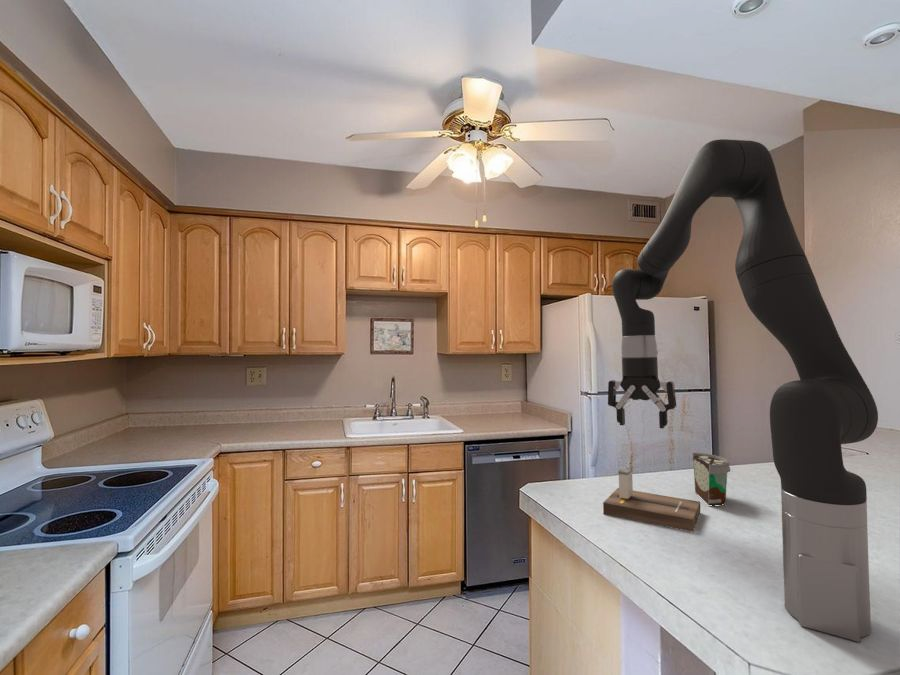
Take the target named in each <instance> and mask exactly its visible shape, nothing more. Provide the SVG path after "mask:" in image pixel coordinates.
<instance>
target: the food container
mask: <svg viewBox="0 0 900 675" xmlns="http://www.w3.org/2000/svg"><path fill="white" fill-rule="evenodd" d="M692 461H693V478H694V479H693V480H694V493H695V494H696V496H698V495H699V496H700V497H701V498H702V499H703V500H704V501H705V502H706V503H707V504H708V505H712V506H714V507H716V506H715V505H722V504H724V503H725V502H727V500H726V499H727V484H728V480H727V479H728V473H730V472H731V466H730V463H729V462H728V459H727V458H724V457H722V456H719V455H715V454H710V453H709V454H708V453H704V452H702V453H701V452H692ZM699 496H698V497H699ZM700 497H699V498H700ZM701 498H700V499H701ZM702 499H701V500H702ZM703 500H702V501H703ZM704 501H703V502H704ZM705 502H704V503H705ZM706 503H705V504H706ZM707 504H706V505H707ZM725 504H726V503H725ZM725 504H724V505H725ZM708 505H707V506H708ZM712 506H711V507H712ZM722 506H723V505H722Z"/></svg>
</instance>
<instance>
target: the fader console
mask: <svg viewBox="0 0 900 675" xmlns="http://www.w3.org/2000/svg"><path fill="white" fill-rule="evenodd" d="M602 504H603V506H602V507H603V515H608V516H613V517H617V518H623V519H628V520H633V521H638V522H642V523H647V524H648V523H649V524H652V525H657V526H661V525H662V526H663V527H666V526H667V528H671V527H672V529H676V528H677V529H678V530H681V529H682V530H683V531H686V530H687V531H686V532H691V531H693V532H694V531H695V529H694V528H696V526H697V523H698V521H697V520H699V518H700V516H699V515H701V513H700V512H701V501H698V500H697V501H696V500H691V499H686V498H680V497H674V496H668V495H661V494H657V493H650V492H644V491H639V490H633V494H632V495H631V496H630V498H629V499H626V498H621V497H619V487H617V488H616V489H615V490H614V491H613V492H612V493H611V494H610V495H609V496H608V497H607V498H606V499H605V500H604V501H603V503H602ZM698 517H699V518H698ZM695 525H696V526H695ZM677 529H676V530H677Z"/></svg>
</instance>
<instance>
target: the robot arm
mask: <svg viewBox="0 0 900 675" xmlns="http://www.w3.org/2000/svg"><path fill="white" fill-rule="evenodd" d="M710 198H730V199H733V200H734V203H735V205H736V206H737V208H738V211H739V214H740V217H741V220H742V225H743V232H742V236H741V240H740V243H739V245H738V246H739V247H738V250H737V253H736V258H735V263H734V266H735V269H734V271H735V274H736V278H737V280H738V284H739V286H740V289H741V292H742V294H743V298H744V300H745V303H746V304H747V307H748V309H749V311H751V312H752V314H753V315H754V317H755V318H756V319H757V320H758V321H759V322H760V324H762V326H764V328H766V330H767V331H769V333H770V334H772V336H774V338H776V339H777V341H778V342H779V343H780V344H781V345H782V346H783V347H784V349H785V350H786V351H787V353H788V354H789V356H790V358H791V360H792V363H793V364H794V368H795V369H796V372H797V374H798V378H799V380H798V379H797V380H793V381H788V382H786V383H783V384H781V385H780V386H779V387H778V388H777V389H776V391H775V392H774V394H773V395H772V397H771V401H770V406H769V425H770V426H769V427H770V437H771V447H772V448H771V449H772V457H773V458H772V459H773V463H774V467H775V469H776V472H777V474H778V475H779V477H780V490H781V491H780V492H781V493H780V495H781V496H780V497H781V527H782V528H781V531H782V534H781V535H782V537H781V538H782V560H783V561H782V566H783V567H782V570H783V592H784V607H785V610H786V611H787V612H788V613H789V614H790V616H791V617H793V618H794V619H796V620H797V621H798V625H800V626H802V627H804V628H808V629H811V630H815V631H819V632H822V633H826V634H829V635H832V636H837V637H840V638H844V639H847V640H851V641H854V642H859V643H860V642H862V638H863V637H865V636H868V635H869V634H871V632H872V620H871V598H870V597H871V596H870V595H871V594H870V567H869V566H870V565H869V563H870V562H869V541H868V540H869V538H868V537H869V535H868V504H867V503H868V502H867V501H868V500H867V499H868V498H867V485H866V482H865V479H863V478H862V477H861V476H859V475H858V474H856V473H854V472H851V471H848V470H847V469H846V468H845V465H844V461H843V460H844V459H843V452H842V450H843V449H842V445H846V444H848V445H849V444H854V443H859V442H863V441H864V440H867V439H869V438H870V437H871V436H872V435H873V433H875V431H876V428H877V427H878V423H879V422H878V421H879V413H878V407H877V404H876V401H875V399H874V397H873V396H874V395H872V393H871V392H872V391H870V389H869V386H868V384H867V383H866V382H865V380H864V378H863V376H862V375H861V373H860V371H859V369H858V368H857V366H856V364H855V362H854V360H853V359H852V357H851V356H850V354H849V352H848V351H847V348H846V347H845V345H844V342H843V340H842V339H841V337H840V334H839V332H838V330H837V327H836V325H835V322H834V320H833V318H832V316H831V313H830V311H829V309H828V306H827V304H826V302H825V300H824V298H823V295H822V294H821V290H820V288H819V284H818V282H817V279H816V277H815V273H814V272H813V269H812V268H811V265H810V263H809V260H808V257H807V254H806V253H805V251H804V249H803V247H802V244H801V243H800V241H799V237H798V235H797V232H796V230H795V227H794V225H793V222H792V219H791V217H790V215H789V212H788V209H787V206H786V203H785V200H784V197H783V193H782V189H781V185H780V181H779V178H778V174H777V170H776V167H775V163H774V160H773V157H772V155H771V153H770V151H769V149H768V148H767V147H766V145H764V144H762V143H761V142H758V141H754V140H745V139H728V138H727V139H715V140H710V141H709V142H707V143H705V144H704V145H703V146H702V147H700V149H699V150H698V151H697V153H696V155H695V156H693V158H692V160H691V161H690V163H689V165H688V167H687V169H686V171H685V173H684V175H683V178H682V179H681V181H680V184H679V185H678V187H677V190H676V191H675V193H674V195H673V198H672V200H671V201H670V202H671V203H670V205H669V206H668V208H667V211H666V213H665V215H664V217H663V219H662V221H661V222H660V224H659V226H658V227H657V229H656V230H655V232H654V233H653V234H652V236H651V237H650V238H649V240H648V241H647V242H646V244H645V246H644V247H643V249H641V251H640V253H639V254H638V257H637V260H636V261H637V266H638V267H639V269H638V268H624V269H623V268H622V269H621V270H617V272H616V273H615V275H614V277H613V279H612V284H611V288H612V294H613V297H614V300H615V303H616V305H617V309H618V312H619V316H620V319H621V334H622V335H621V368H622V369H621V371H622V372H621V374H622V379H621V381H619V380H615V379H612V380H609V381H608V385H607V387H608V388H607V389H608V390H607V405H608V406H609V407H613V408H614V409H616V410H615V411H616V422H617V423H618V424H619V426H625V425H626V413H625V412H626V411H625V408H624V407H625V405H626V404H627V403H628V402H629V401H630V400H632V401H638V400H642V401H649V400H651V402H652V403H653V404H654V405H655V406H656V407H657V408H658V409H659V412H658V422H659V424H658V425H659V429H665V427H666V426H667V425H668V423H669V422H668V411H670V410H674V409H675V408H677V399H676V391H675V381H671V380H670V381H660V380H659V369H658V366H659V365H658V347H657V346H658V345H657V338H656V323H655V322H656V321H655V315H654V312H653V311H651V310H649V309H645V308H642V307H640V306H639V304H638V302H637V301H638V300H639V301H640V300H641V301H643V300H646V301H647V300H651V299H653V298H655V297H657V296H658V295H659V294H660V293H661V291H662V289H663V286H664V285H665V281H666V279H667V277H668V274H669V272H670V269H671V268H672V267H673V266H674V265H675V264H676V262H677V261H678V260H679V259H680V258H681V257H682V255H684V254H685V252H686V250H687V248H688V246H689V243H690V240H691V236H692V234H691V233H692V221H693V218H694V216H695V215H696V212H697V211H698V210H699V209H700V208H701V206H702V205H703V204H705V202H706V201H707V200H709V199H710ZM620 387H621V388H622V390H623V391H624V392H625V393H624V394H623V395H622V397H620V400H619V401H617V390H619V389H620ZM661 388H662V389H663V391H664V392H666V393H667V404H666V403H665V401H663V399H662V397H661V396H659V394H658V391H659V389H661Z"/></svg>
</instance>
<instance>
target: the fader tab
mask: <svg viewBox="0 0 900 675" xmlns="http://www.w3.org/2000/svg"><path fill="white" fill-rule="evenodd" d="M618 488H619V497H621V498H626V499H629V498H630V496H631V495H632V494H633V491H634V489H633V488H634V487H633V467H626V466H622V467H621V468H620V469H619V470H618Z"/></svg>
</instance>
